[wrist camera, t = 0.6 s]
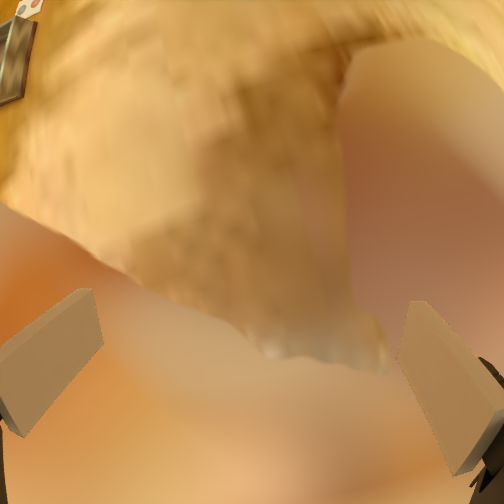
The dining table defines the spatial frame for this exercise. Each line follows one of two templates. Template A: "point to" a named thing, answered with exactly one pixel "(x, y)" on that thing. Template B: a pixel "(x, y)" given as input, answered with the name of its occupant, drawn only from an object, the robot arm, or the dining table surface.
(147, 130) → the dining table surface
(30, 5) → the card
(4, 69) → the two-compartment wooden tray
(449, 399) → the robot arm
